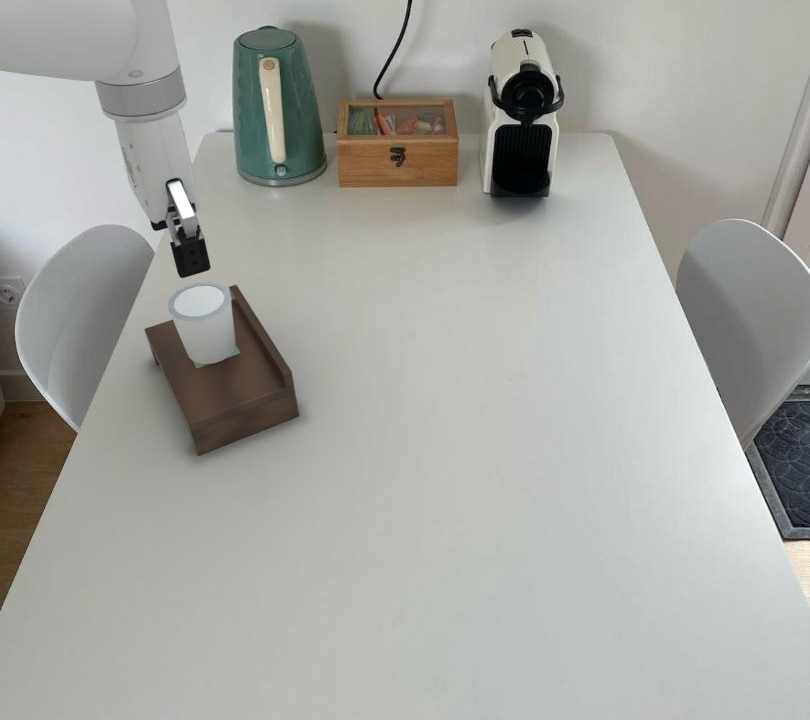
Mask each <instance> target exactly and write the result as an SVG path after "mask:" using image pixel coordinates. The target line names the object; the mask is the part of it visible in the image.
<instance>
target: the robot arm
mask: <svg viewBox="0 0 810 720" xmlns="http://www.w3.org/2000/svg"><path fill="white" fill-rule="evenodd" d="M0 71H1V72H7V73H13V74H20V75H28V76H36V77H43V78H44V77H45V78H53V79H63V80H71V81H81V82H93V83H94V87H95V90H96V93H97V97H98V100H99V104H100V108H101V112H102V113H103V115H104V116H105V117H106V118H108V119H111V120H113V122H114V126H115V131H116V135H117V140H118V142H119V147H120V152H121V156H122V160H123V163H124V169H125V173H126V177H127V181H128V183H129V187H130V188H131V191H132V193H133V194H134V196H135V198H136V200H137V202H138V203H139V206H140V207H141V209H142V211H143V213H144V214H145V216H146V217H147V219H148V220H149V222H150V225H151V228H152V230H153V231H154V232H160V231H162V230H165V229H168V231H169V234H170V237H171V239H172V241H170V242H169V245H170V248H171V253H172V256H173V260H174V264H175V267H176V272H177V275H178V276H179V278H181V279H185V278H188V277H191V276H195V275H199V274H201V273H205V272H208V271H210V270H211V267H212V266H211V263H210V262H211V261H210V257H209V253H208V248H207V244H206V240H205V235H204V233H203V231H202V228H201V225H200V222H199V220H198V217H197V214H196V213H197V212H198V211H199V209H200V208H201V205H200V204H201V203H200V196H199V192H198V186H197V180H196V177H195V173H194V169H193V168H194V167H193V164H192V160H191V156H190V155H191V154H190V152H189V147H188V143H187V140H186V133H185V131H184V127H183V124H182V120H181V117H180V113H179V111H180V110H182V109H183V108H184V107H185V105H186V104H187V103H188V102H187V101H188V96H187V92H186V87H185V83H184V78H183V74H182V73H183V72H182V68H181V64H180V59H179V54H178V49H177V44H176V40H175V36H174V29H173V26H172V20H171V16H170V11H169V5H168V2H167V0H0ZM176 226H178V228H177V227H176Z"/></svg>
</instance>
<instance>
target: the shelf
mask: <svg viewBox="0 0 810 720" xmlns="http://www.w3.org/2000/svg"><path fill="white" fill-rule="evenodd" d="M228 292H229V294H230V296H231V305H232V314H233V323H234V332H235V341H236V345H235V350H234V351H233V352H232V354H231V355H230V356H229V357H227V358H226V359H224V360H223V361H220V362H217V363H213V364H201V363H196V362H194V361H193V360H191V359H190V358H189V356H188V354H187V352H186V349H185V347H184V345H183V342H182V340H181V338H180V335H179V333H178V331H177V328H176V326H175V323H174V321H173V319H172V318H171V319H170V320H166V321H164V322H161V323H157V324H155V325H152V326H149V327H146V328H144V333H145V336H146V339H147V342H148V345H149V349H150V351H151V355H152V357H153V360H154V363H155V365H159V367H160V369H161V371H162V373H163V375H164V378H165V379H166V382H167V384H168V387H169V388H170V390H171V393H172V395H173V397H174V399H175V402H176V403H177V406H178V408H179V410H180V412H181V415H182V416H183V419H184V421H185V423H186V425H187V429H188V432H189V435H190V437H191V441H192V444H193V447H194V450H195V452H196V455H197V456H202V455H203V454H206V453H208V452H211V451H214V450H217V449H219V448H221V447H224V446H226V445H229V444H232V443H234V442H237V441H239V440H242V439H245V438H247V437H249V436H252V435H255V434H258V433H260V432H262V431H265V430H267V429H269V428H272V427H275V426H278V425H280V424H283V423H285V422H287V421H290V420H293V419H295V418H298V417H300V411H299V406H298V400H297V399H298V398H297V394H296V388H295V382H294V376H293V371H292V370H291V368H290V366H289V365H288V364H287V362H286V360H285V359H284V357H283V356H282V354H281V353H280V351H279V349H278V348H277V346H276V344H275V343H274V342H273V339H272V338H271V336H270V335H269V333H268V331H267V330H266V329H265V327H264V325H263V324H262V321H260V319H259V318H258V316H257V315H256V313H255V311H254V310H253V308H252V306H251V305H250V303H249V302H248V300H247V299H246V298H245V296H244V294H243V292H242V291H241V289H240V288H239V286H238V284H233V285H230V286H228Z"/></svg>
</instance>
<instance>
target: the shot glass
mask: <svg viewBox="0 0 810 720" xmlns="http://www.w3.org/2000/svg"><path fill="white" fill-rule="evenodd" d="M231 300H232V299H231V295H230V291H229V289H228V288H226V287H224V286H223V285H221V284H220V283H215V282H210V281H206V282H196V283H192V284H188V285H186V286H183V287H182V288H180V289H178V290H176V291H175V292H174V293H173V295H172V296H171V297H170V298H169V299H168V303H167V310H168V311H169V314H170V316H171V320H172V319H173V321H174V323H175V326H176V328H177V331H178V333H179V335H180V338H181V340H182V342H183V345H184V347H185V349H186V352H187V354H188V356H189V358H190V359H191V360H193V361H194V362H196V363H201V364H213V363H217V362H220V361H223V360H224V359H226V358H227V357H229V356H230V355H231V354H232V352H233V351H234V350H235V345H236V341H235V332H234V323H233V314H232V305H231Z"/></svg>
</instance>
